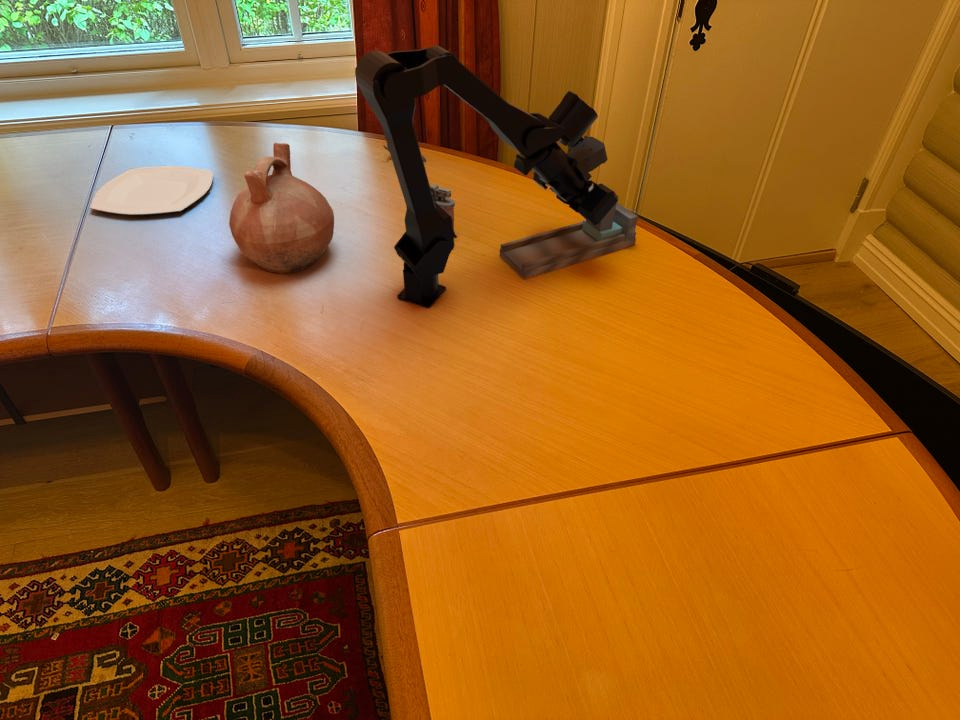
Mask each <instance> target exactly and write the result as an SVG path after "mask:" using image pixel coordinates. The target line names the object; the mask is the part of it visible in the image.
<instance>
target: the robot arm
mask: <svg viewBox="0 0 960 720" xmlns="http://www.w3.org/2000/svg"><path fill="white" fill-rule="evenodd" d="M354 69H355V70H354V75H355V81H356V83H357V85H358V88H359V90H360V91H361V93H362V96H363V97H364V100H365V101H366V103H367V105H368V106H369V107H370V109H371V111H372V112H373V115H375V117H376V119H377V120H378V122H379V124H380V126H381V128H382V131H383V136H384V139H385V141H386V146H387V145H388V148H389V151H390V152H389V151H388V152H389V154H390V159H391V160H392V165H393V167H394V170H395V174H396V176H397V177H396V178H397V179H398V183H399V186H400V189H401V194H402V196H403V199H404V200H403V201H404V202H405V206H406V209H405V210H406V211H405V216H404V225H405V232H404V233H403V235H402V236H401V237H400V239H398V241H397V242H396V243H395V244H394V246H393V249H394V250H395V252H396V254H397V256H398V258H400V259H401V260H402V262H403V270H402V276H403V277H402V279H403V287H404V288H403V289H402V290H401V291H400V292H399V293H398V294H397V295H396V296H397V299H399V300H401V301H405V302H408V303H411V304H414V305H416V306H417V305H418V306H421V307H424V308H427V309H429V308H431V307H432V305H434V304H435V302H436V301H438V300H439V298H440V297H441V296H442V295H443V294H444V293H445V291H447V287H446V286H445V285H443V284H439V275H440V274H443V273H444V271H445V269H446V266H447V263H448V260H449V257H450V254H451V252H452V251H453V250H455V249H454V248H455V239H457V238H458V236H457V235H456V232H455V233H454V231H455V230H454V231H453V223H452V218H451V216H450V215H449V214H448V213H447V212H446V211H445V210H444V209H443V208H442V207H441V206H439V205H438V204H437V203H436V202H435V201H434V200H433V196H432V192H431V189H430V182H429V179H428V174H427V170H426V167H425V163H423V159H422V151H421V148H420V144H419V141H418V137H417V133H416V129H415V126H414V125H415V124H414V116H415V110H416V105H417V103H416V98H419V97H423V96H426V95H427V94H429V93H430V92H432V91H433V90H435V89H436V88H439V87H440V86H444V87H445V88H447V89H448V90H449V91H451V92H452V94H454V95H456V96H457V97H458V98H459V99H461V100H462V101H463V102H465V103H466V104H467V105H469V106H470V107H471V108H472V109H474V110H475V111H476V112H477V113H478V114H480V115H481V116H482V117H483V118H485V120H486V121H487V122H488V124H489V126H490V128H491V129H492V130H493V131H494V133H495V134H496V135H497V136H498V138H499V139H500V140H501V141H502V142H503V143H505V144H507V145H508V146H509V147H511V148H512V149H513V150H515V151H517V152H518V154H516V155H515V161H514V164H513V168H515V170H516V171H518V172H520V173H521V174H522V175H524V176H528V175H529V173H530V172H531V171H532V170H533V171H534V172H533V177H532V180H533V181H534V182H535V183H536V184H537V185H538V186H539V187H540V188H542V189H543V190H544V191H546V190H547V189H548V188H549V190H550V191H551V192H552V193H554V194H555V196H556V199H558V200H559V201H560V202H562V203H563V204H566V205H568V207H569V208H570V209H571V210H573V211H574V212H575V213H577V214H579V215H580V216H581V217H583V218H584V220H588V221H589V222H590V223H592V224H593V225H597V224H599V223H600V221H601V220H602V219H603V218H604V217H605V216H606V214H607V213H608V212H609V211H610V210H611V209H612V207H613V206H614V205H615V204H616V203H619V196H618V194H617V193H616V192H615V191H614V190H613V189H611V188H609V187H608V186H606V185H604V184H603V183H598V184H597V183H595V181H593V180H590V179H591V178H592V175H591V172H593V171H594V170H596V169H597V168H599V166H601V165H603V164H606V162H607V161H608V160H609V159H608V154H607V149H606V145H605V143H604V142H603V141H601V140H600V139H597V138H596V137H594V136H589V135H587V134H585V133H586V132H587V131H588V130H589V129H590V127H592V125H593V124H594V123H595V122H596V120H597V119H598V117H599V115H598V113H597V112H596V111H595V109H594V108H593V107H591V106H590V105H588V104H587V102H585V101H584V100H583V99H581V98H580V97H579V96H578V94H577V93H576V92H573V91H571V90H568V91H567V92H566V93H565V95H564V96H563V97H562V100H561V101H560V103H559V104H557V106H556V107H555V109H554V110H553V112H551V114H550V115H549V116H545V115H543V114H541V113H539V112H527V110H526V111H525V110H524V109H522V108H520V107H518V106H517V105H514V104H513V103H510V102H509V101H508V100H505V99H504V98H502V96H501V95H500V94H498V93H497V92H496V91H494V90H493V89H492V88H491V87H490V86H489V85H488V84H486V83H485V82H484V81H483V80H482V79H480V78H479V77H478V75H476V73H475V74H474V72H472V71H471V70H469V68H468V67H466V66H465V64H463V63H461V62H460V60H458V57H457V56H456V55H455V54H454V53H452V52H450V51H448V50H446V48H443V47H441V46H439V45H433V46H428V47H425V48H419V49H407V50H395V51H391V52H388V53H385V52H383V51H381V50H380V51H379V50H372V51H371V50H370V51H368V52H367V53H365V54H364V55H362V57H361V58H360V59H359V60H358V62H357V65H356V66H355V68H354ZM557 142H559V144H561V145H563V146H564V147H567V152H565V150H563V148H562V147H561V146H560V145H559V144H558V143H557ZM547 185H548V186H547Z"/></svg>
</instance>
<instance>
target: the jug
mask: <svg viewBox="0 0 960 720" xmlns="http://www.w3.org/2000/svg"><path fill="white" fill-rule="evenodd" d="M272 151H273V156H265V157H262V158H261V159H259V160H258V161H257V163H256V164H255V167H254V170H253V171H251V170H248V171H245V172H244V174H243V176H244V178H245V179H244V180H245V181H246V184H247V185H246V186H245V187H243V188H242V189H241V190H240V192H239V193H238V194H237V196H236V198H235V199H234V202H233V204H232V207H231V209H230V215H229V221H228V222H229V223H228V225H229V229H230V233H231V235H232V236H231V237H232V238H233V240H234V242H235V243H236V245H237V247H238V248H239V250H240V252H242V254H244V255H245V256H246V257H247V258H249V260H251V261H252V262H253V263H255V264H256V265H258V266H260V267H261V268H262V269H263V270H265V271H267V272H270V273H275V274H289V273H294V272H298V271H301V270H304V269H306V268H308V267H311V266H312V265H313V264H314V263H316V262H317V261H318V260H319V258H320V257H321V256H322V254H324V252H325V251H326V249H327V248H328V247H329V245H330V243H331V241H332V239H333V236H334V230H335V213H334V209H333V208H332V207H331V205H330V203H329V202H328V200H327V198H326V197H325V196H324V195H323V194H322V193H321V192H320V191H319V190H318V189H316V188H315V187H314V186H312V185H311V184H309V183H308V182H307V181H305V180H302V179H300V178H298V177H297V176H294V175H293V174H292V171H291V167H292V166H291V147H290V144H288V143H287V142H285V143H283V142H274V143H273V150H272ZM271 168H273V169H272V172H271V174H270V175H269V173H270V170H271Z"/></svg>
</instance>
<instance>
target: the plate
mask: <svg viewBox="0 0 960 720" xmlns="http://www.w3.org/2000/svg"><path fill="white" fill-rule="evenodd" d="M213 178H214V171H213V170H209V169H203V168H197V167H191V166H180V165H179V166H178V165H164V166H163V165H161V166H149V167H148V166H146V167H136V168H130V169H128V170H127V171H125V172H122V173H121V174H119V175H117V176H116V177H113V178H112V179H110V180H108V181H107V182H106V183H105V184H103V185H102V186H101V187H100V188H99V189H98V190H97V191H96V193H95V195H94V196H93V199H92V201H91V203H90V206H89V209H90V210H94V211H99V212H104V213H109V214H116V215H126V216H127V215H128V216H147V215H160V214H162V215H163V214H173V213H180V212H183V211H184V210H186V209H187V208H188V207H190V206H191V205H193V204H194V203H196V202H197V201H199V200H200V199H202V198H203V197H204V196H205V195H206V194H207V193H208V192H209V190H210V188H211V187H212V183H213Z"/></svg>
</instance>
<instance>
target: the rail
mask: <svg viewBox="0 0 960 720" xmlns="http://www.w3.org/2000/svg"><path fill="white" fill-rule="evenodd" d="M638 219H639V215H637V214H636V213H634V212H633V211H631V210H629V209H628V208H626V207H625V206H623V205H622V204H620V203H619V202H617V203H616V209H615V214H614V220H613V222H615V223H616V224H618V225H619V226H621V227H622V233H621V234H620V235H617V236H614V237H610V238H607V239H604V240H600V241H597V240H596V239H595V238H593V237H592V236H591V235H589V234H588V233H587V232H585V231H584V230H582V226H583V221H580V222H576V223H572V224H569V225H566V226H563V227H559V228H554V229H551V230H547V231H544V232H540V233H536V234H533V235H530V236H526V237H523V238H519V239H515V240H512V241H507V242H505V243H502V244H500V248H499V253H498V255H499V257H500V258H501V259H502V260H503V261H504V262H505V263H506V264H507V265H508V266H509V267H510V268H512V270H514V271H515V272H516V273H517V274H518V275H519V276H520V277H522V279H524V280H527V279H530V278H534V277H537V276H540V275H543V273H544V274H546V273H549V272H553V271H556V270H559V269H563V268H566V267H568V266H572V265H575V264H578V263H579V264H580V263H583V262H586V261H588V260H591V259H594V258H598V257H602V256H604V255H607V254H610V253H614V252H617V251H621V250H623V249H626V248H629V247H633V246H635V245H636V241H637V237H636V236H637V232H636V228H637V223H638ZM533 276H534V277H533Z"/></svg>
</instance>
